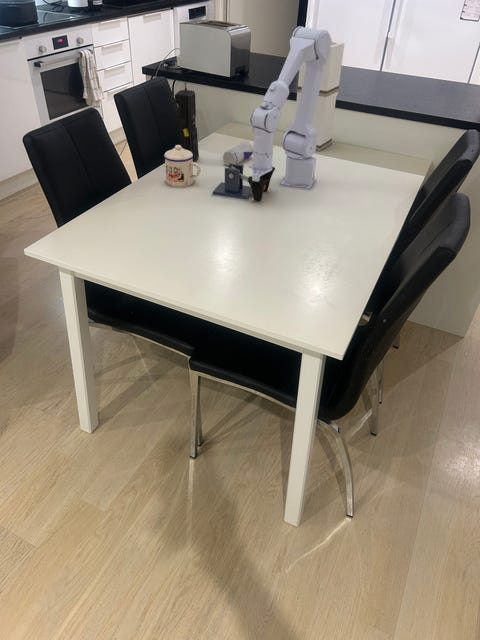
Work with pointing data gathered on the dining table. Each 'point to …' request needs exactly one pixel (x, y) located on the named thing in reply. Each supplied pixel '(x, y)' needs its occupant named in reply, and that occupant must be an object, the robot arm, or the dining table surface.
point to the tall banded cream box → (325, 95)
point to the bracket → (233, 184)
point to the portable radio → (187, 121)
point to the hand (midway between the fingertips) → (260, 195)
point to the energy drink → (238, 154)
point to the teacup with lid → (180, 167)
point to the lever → (242, 175)
